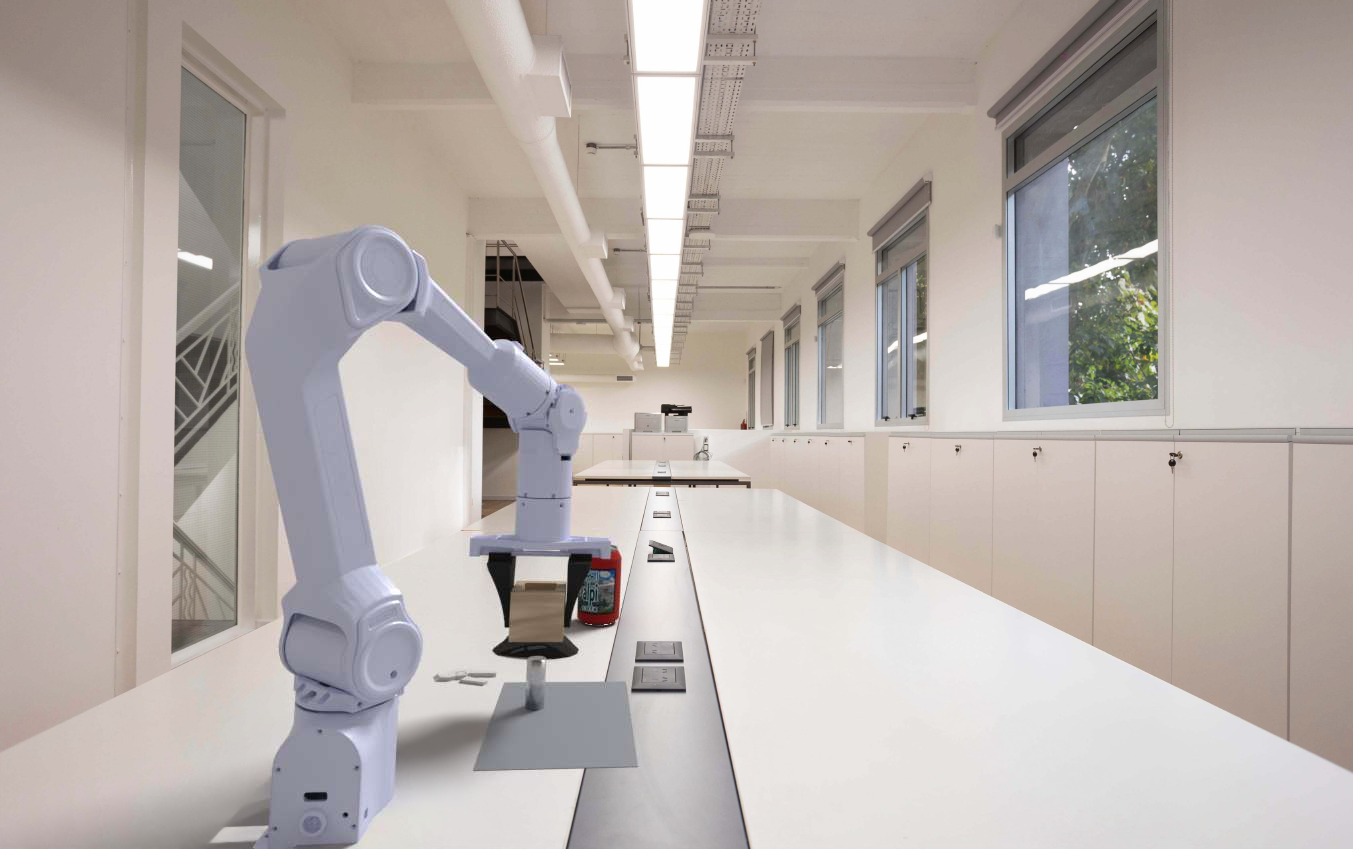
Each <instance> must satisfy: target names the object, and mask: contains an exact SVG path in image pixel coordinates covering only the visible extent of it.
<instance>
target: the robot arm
mask: <svg viewBox="0 0 1353 849" xmlns="http://www.w3.org/2000/svg"><path fill="white" fill-rule="evenodd" d="M258 274H259V280H260V284H261V286H260V287H261V288H260V290H259V294H258V297H257V299H256V302H255V306H254V309H253V312H252V315H251V318H250V321H249V324H248V327H247V330H246V333H245V338H244V353H245V357H246V362H247V366H248V370H249V375H250V379H251V384H252V387H253V388H252V389H253V393H254V397H255V403H256V406H257V411H258V415H259V419H260V420H259V421H260V423H261V429H262V434H263V437H264V442H265V446H266V450H267V455H268V460H269V463H270V468H271V473H272V476H273V483H274V486H275V490H276V494H277V499H278V504H279V508H280V513H281V517H282V521H283V525H284V530H285V535H286V538H287V543H288V548H289V552H290V556H291V561H292V566H293V571H294V575H295V579H296V582H295V584H294V585H293V586H292V587H291V588H290V589H289V590H288V591H287V592H286V593H285V594H284V596H283V597H282V598H281V601H280V602H281V603H280V604H281V608H282V612H283V622H282V623H283V624H282V629H281V632H280V636H279V641H278V655H279V660H280V662H281V663H282V665H283V667H284V668H285V669H286V670H287V671H288V672H289V673H290V674H291V675H292V674H293V675H294V676H293V691H294V692H295V694H294V712H293V723H292V726H291V729H290V731H289V733H288V735H287V737H286V738H285V739H284V741H283V742H282V744H281V745H280V747H279V748H278V749H277V752H276V753H275V756H274V758H273V762H272V767H271V776H270V778H271V779H270V798H269V812H268V813H269V814H268V815H269V816H268V818H269V820H268V827H267V829H266V830H265V831H264V832H263V833H262V835H261V836H260V837H259V838H258V840H257V841H256V842H255V843H254V845H253V846H252V849H296V847H297V846H308V845H309V846H312V845H313V846H314V845H334V844H335V845H337V844H338V845H339V844H341V845H342V844H358V843H359V842H360V841H361V839H362V838H363V837H364V836H365V833H366V831H367V830H368V828H369V826H370V824H372V822H373V820H374V818H375V817H376V816H377V815H378V814H379V813H380V812H381V811H383V809H385V808H386V807H387V806H388V805H389V804H390V803H391V801H392V800H393V797H394V796H395V784H396V783H395V780H396V762H397V744H398V743H397V741H398V740H397V739H398V721H399V701H400V700H399V699H400V696H403V695H404V694H405V688H406V687H407V685H408V684H409V683H410V682H411V680H412V678H413V677H414V676H415V674H416V672H417V670H418V669H419V666H420V663H421V659H422V656H423V649H424V647H423V646H424V642H423V634H422V632H421V628H420V627H419V626H418V623H417V622H415V620H414V619H413V618H412V617H411V616H410V615H409V613H408V611H407V608H406V605H405V601H404V595H403V593H402V592H401V590H400V589H399V588H398V587H397V586H396V584H395V583H394V582H393V580H391V579H390V577H389V576H388V575H387V574H386V573H385V572H384V571H383V569H382V568H381V567H380V566H379V565H378V561H377V557H376V556H377V555H376V551H375V546H374V542H373V536H372V531H371V530H372V529H371V526H370V520H369V517H368V516H369V515H368V510H367V506H366V501H365V500H366V499H365V495H364V490H363V486H362V481H361V480H362V479H361V474H360V471H359V466H358V460H357V459H358V458H357V455H356V450H355V449H356V448H355V445H354V440H353V434H352V429H351V424H350V420H349V414H348V409H347V403H346V398H345V395H344V389H343V383H342V379H341V374H340V369H339V363H340V361H341V360H342V358H343V357H344V356H345V355H346V354H347V353H348V352H349V351H350V349H351V348H352V347H353V345H354V344H355V343H356V342H357V341H358V340H359V339H360V337H361V336H362V335H363V334H364V333H365V332H367V331H368V330H370V329H371V328H373V327H375V326H377V325H378V324H380V323H382V322H394V323H395V322H397V323H401V324H403V325H405V326H406V327H408V328H409V329H410V330H412V331H413V332H415V333H416V334H417V335H419V336H420V337H422V338H423V339H425V340H427V342H430V343H431V344H432V345H434V346H435V347H437V348H438V349H439V350H441V351H443V352H444V353H445V354H446V355H448V356H449V357H451V358H452V359H454V360H455V361H457V362H458V363H460V364H461V365H463V366H464V368H465V367H466V374H467V382H468V384H469V385H470V386H471V387H472V388H473V389H474V390H476V391H477V392H478V393H479V394H480V395H481V396H483V397H484V398H486V399H487V400H489V401H490V402H491V403H492V404H494V405H495V406H496V407H497V408H499V409H500V410H501V411H502V412H503V413H505V415H506V416H507V421H508V424H509V426H510V428H511V430H512V432H513V433H515V434H518V435H519V437H518V438H519V439H518V455H517V456H518V458H517V479H516V480H517V482H516V485H517V486H516V498H515V501H516V502H515V523H514V524H515V525H514V534H491V535H488V534H487V535H485V534H483V535H482V534H481V535H477V534H475V535H472V536H471V537H470V540H469V557H481V556H488V559H487V562H486V568H487V571H488V573H489V575H490V578H491V579H492V582H493V584H494V586H495V589H496V593H497V595H498V597H499V601H500V605H501V609H502V616H503V623H504V629H507V628H508V629H509V621H510V599H511V591H512V589H513V587H514V585H515V576H516V566H517V557H546V558H547V557H551V558H552V557H553V558H554V557H555V558H568V560H567V568H566V569H567V574H566V577H567V578H566V581H567V587H566V606H565V613H564V628H565V629H571V626H572V625H571V624H572V623H571V622H572V617H573V612H574V609H575V606H576V602H577V601H578V594H579V592H580V590H581V587H582V585H583V583H584V581H585V579H586V577H587V575H588V573H589V571H590V569H591V566H592V557H600V558H601V559H610V554H611V545H612V539H611V537H594V536H580V535H578V536H577V535H570V532H571V531H570V530H571V512H572V509H571V508H572V493H573V492H572V488H573V469H574V455H575V454H577V451H578V450H579V447H580V446H579V445H580V444H579V443H580V436H581V433H582V432H583V430H584V428H585V426H586V423H587V419H588V412H587V411H586V407H585V402H584V400H583V397H582V395H581V394H580V393H579V391H577V390H576V389H575V388H574V387H573V386H572V385H570V384H568V383H567V384H565V383H559V384H558V383H557V381H555V380H554V379H553V378H552V377H551V373H549V371H547V370H546V369H542V368H541V367H540V366H538V364H537V363H535V361H533V360H532V359H531V358H530V357H529V356H528V355H527V354H526V353H525V352H524V349H525V347H524V346H523V345H522V344H520V343H519V342H518V341H517V340H516V341H515V340H512V341H510V340H509V339H506V338H505V339H503V338H502V339H501V338H500V339H495V340H492V339H491V338H490V337H489V336H488V334H486V332H484V331H483V330H482V328H480V326H479V325H478V324H476V322H475V321H474V320H473V319H472V318H470V317H469V315H468V314H467V313H466V312H465V311H464V310H463V309H462V308H461V307H460V306H459V305H458V304H457V303H456V302H455V301H454V300H453V299H452V298H451V297H450V296H449V295H448V294H447V293H446V292H445V291H444V290H443V289H442V287H440V286H439V285H438V283H436V281H434V280H433V279H432V277H431V276H430V273H429V268H428V263H427V260H426V259H425V258H424V257H423V256H422V255H421V254H419V253H417V252H416V251H415V250H413V249H410V247H409V245H408V244H407V243H406V242H405V240H404V239H403V238H402V237H401V236H400V235H398V234H397V233H396V232H395V231H393V230H391V229H389V228H387V227H384V226H381V225H377V224H376V225H375V224H365V225H362V226H358V227H355V228H354V229H352V230H346V231H343V232H338V233H334V234H333V233H332V234H329V235H328V234H327V235H323V236H319V237H313V238H300V239H299V238H298V239H294V240H291V241H288V242H287V243H285V244H284V245H283V246H281V247H280V248H279V249H277V251H276V252H274V253H273V254H272V255H270V257H269V258H267V259H266V260H265V261H264V262H263V263H262V264H261V265H260V266H259V267H258Z"/></svg>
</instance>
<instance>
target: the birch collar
mask: <svg viewBox="0 0 1353 849" xmlns="http://www.w3.org/2000/svg"><path fill="white" fill-rule="evenodd" d="M566 597H567V580H566V581H565V580H516V582H514V587H513V589H512V591H511V599H510V621H509V628H508V635H509V642H563V636H564V635H565V629H566V628H564V613H565V606H566Z"/></svg>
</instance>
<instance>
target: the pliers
mask: <svg viewBox="0 0 1353 849" xmlns="http://www.w3.org/2000/svg"><path fill="white" fill-rule="evenodd" d="M497 672H498V670H485V669H475V668H474V669H473V668H465V669H464V668H462V669H461V668H459V669H458V668H457V669H454V670H451V671H449V672H447V673H437V674H436V675H434V676H433V677H432V678H433V680H434V682H451V681H455V680H459V683H461V684H462V683H463V684H471V685H475V686H476V685H477V686H486V685H487V684H488V680H485V679H482V678H481V677H483V678H486V677H487V678H494V677H495V678H496V677H497ZM479 677H480V678H479Z"/></svg>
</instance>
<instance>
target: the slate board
mask: <svg viewBox="0 0 1353 849" xmlns="http://www.w3.org/2000/svg"><path fill="white" fill-rule="evenodd" d="M525 693H526V681H523V682H522V681H521V682H520V681H518V682H517V681H515V682H513V681H512V682H511V681H509V682H508V681H507V682H504V683H503V686H502V688H501V691H500V693H499V697H498V699H497V703H496V706H495V707H494V711H493V714H492V716H491V719H490V722H489V725H488V728H487V731H486V733H485V736H484V739H483V742H482V745H481V747H480V751H479V753H478V756H477V758H476V762H475V763H474V767H473V769H472V771H473V772H484V771H485V772H487V771H529V770H530V771H531V770H561V769H562V770H567V769H568V770H569V769H575V770H576V769H608V768H609V769H612V768H615V769H616V768H617V769H618V768H639V764H638V758H637V750H636V743H635V737H634V735H635V734H634V728H633V722H632V714H631V708H630V701H629V694H628V686H627V681H545V700H544V708H543V709H541V710H538V711H530V710H527V709H525Z"/></svg>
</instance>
